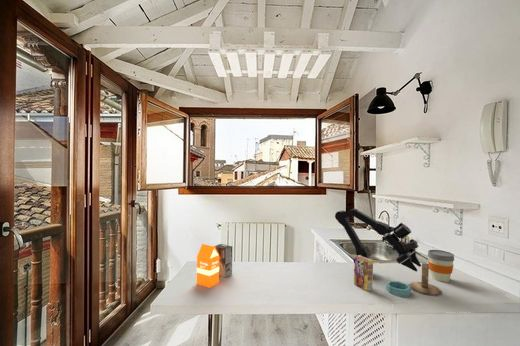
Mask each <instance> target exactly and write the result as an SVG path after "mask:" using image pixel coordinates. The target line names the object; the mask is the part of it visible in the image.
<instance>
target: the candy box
mask: <svg viewBox="0 0 520 346" xmlns="http://www.w3.org/2000/svg"><path fill="white" fill-rule="evenodd" d="M354 259H355V263H354V269H355V271H354V270H353V271H354V276H353V277H354V278H353V284H354V286H355V287H356V286H357V287H358V288H361V290H362V289H363V290H365V291H372V290H373V275H374V259H371V258H370V259H368V258H366V257H363V256H360V255H358V256H357V255H355V256H354Z"/></svg>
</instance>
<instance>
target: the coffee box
mask: <svg viewBox="0 0 520 346" xmlns="http://www.w3.org/2000/svg"><path fill="white" fill-rule="evenodd" d="M214 246H215V248H216V250H217V252H218V254H219V277H223V278H227V277H230V276H231V274H232V275H233V246H232V245H227V244H223V243H220V244H216V245H214Z"/></svg>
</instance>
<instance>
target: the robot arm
mask: <svg viewBox="0 0 520 346" xmlns="http://www.w3.org/2000/svg"><path fill="white" fill-rule="evenodd" d="M334 217H335V220H336V221H337V222H338V224H340V225H341V226H342V227H343V229H344V231H345V232H346V234H347V235H348V237H349V239H350V241H351V243H352V245H353V246H354V248H355V254H356V256H358V255H360V256H363V257H366V258H368V259H371V257H372V251H371V250H370V248H369V245H366V246H365V245H364V244H363V243H362V242H361V239H360V238H359V236H358V234H357V233H356V231H355V229H354V227H353V225H352V223H351V219H350V217H354V218H356V219H358V220H359V221H361V222H362V223H365V224H366V225H368V226H369V227H371V228H372V230H374V232H376V233H377V234H379V235H380V236H381V237H382V238H381V242H382V243H384V242H385V241H386V242H387V244H389V245H390V246H391V247H392V251H395V252H396V253H397V257H396V262H397V263H398V264H400V265H402V266H404V267H407V268H408V269H410V270H412V271H414V272H418V268H417V267H419V268H420V267H422V263H421V262H420V261H419V259H418V257H417V251H416V250H417V249H418V248H419V246H420V245H419V244H418V242H417V240H415V239H413V238H411V239H409V241H408V242H405V241H402V240H401V239H405V238H406V237H407V236H409V235H410V234H411V233H412V230H411V229H410V227H409V226H407V225H406V224H404V223H403V222H400V223H399V224H398V225H397V226H396V227H394V226H390V225H389V224H387V223H385V222H382V221H379V220H376V219H374V218H372V217H370V216H368V215H367V214H365V213H363V212H361V211H360V210H359V209H357V208H352V209H349V210H339V211H336V212H335V214H334ZM353 263H354V264H355V258H353ZM416 266H417V267H416ZM353 271H355V268H354V269H353Z"/></svg>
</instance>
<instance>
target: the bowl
mask: <svg viewBox="0 0 520 346" xmlns="http://www.w3.org/2000/svg"><path fill="white" fill-rule="evenodd" d="M408 285H409V284H407V283H404V282H401V281H396V280H395V281H392V280H390V281H388V282H386V291H387V292H388V293H389V294H391V295H394V296H396V297H406V298H407V297H409V296H410V295H411V291H412V290H411V288H410V287H409V286H408Z"/></svg>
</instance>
